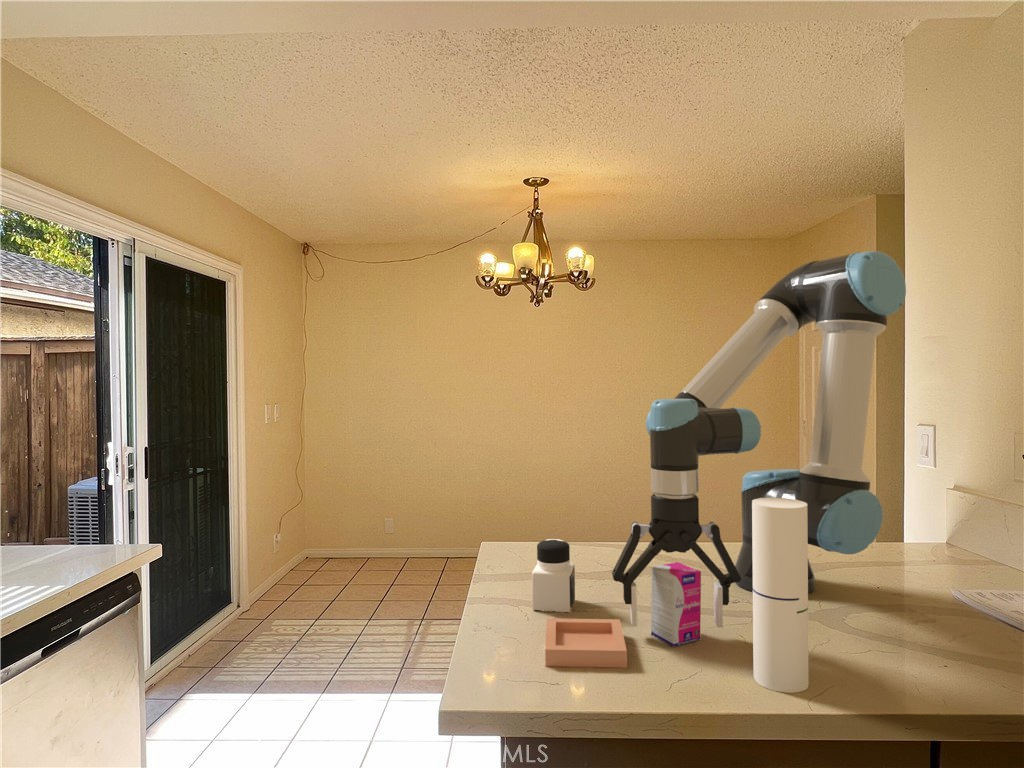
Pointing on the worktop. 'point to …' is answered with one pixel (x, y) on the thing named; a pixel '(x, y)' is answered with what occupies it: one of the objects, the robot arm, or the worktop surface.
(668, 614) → the supplement box
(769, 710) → the worktop surface
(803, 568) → the cylindrical container
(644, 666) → the worktop surface
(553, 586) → the medicine bottle
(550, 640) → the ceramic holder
